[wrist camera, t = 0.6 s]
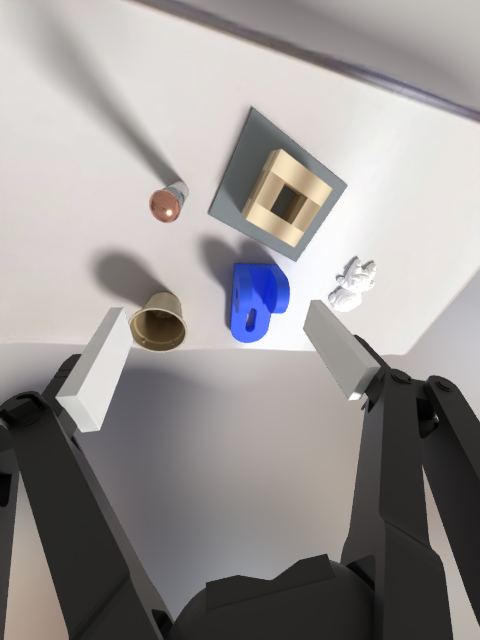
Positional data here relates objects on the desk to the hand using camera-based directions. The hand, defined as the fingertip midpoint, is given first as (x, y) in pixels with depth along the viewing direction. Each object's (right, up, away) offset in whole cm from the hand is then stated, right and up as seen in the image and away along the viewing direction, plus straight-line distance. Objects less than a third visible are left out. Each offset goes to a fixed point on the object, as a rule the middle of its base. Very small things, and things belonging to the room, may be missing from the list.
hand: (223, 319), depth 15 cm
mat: (+7, +19, +19) cm, 28 cm away
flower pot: (-14, +3, +27) cm, 30 cm away
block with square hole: (+7, +19, +19) cm, 28 cm away
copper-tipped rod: (-8, +19, +16) cm, 26 cm away
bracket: (+4, +3, +30) cm, 30 cm away
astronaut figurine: (+25, +8, +31) cm, 41 cm away
